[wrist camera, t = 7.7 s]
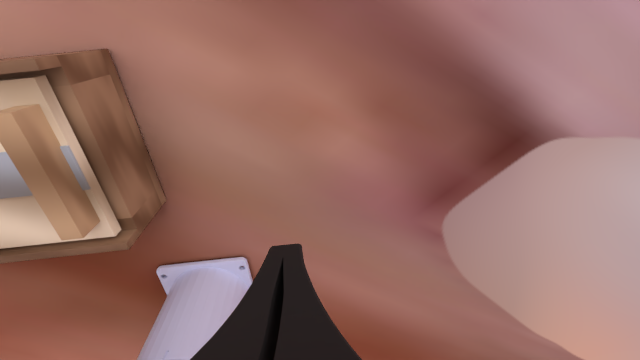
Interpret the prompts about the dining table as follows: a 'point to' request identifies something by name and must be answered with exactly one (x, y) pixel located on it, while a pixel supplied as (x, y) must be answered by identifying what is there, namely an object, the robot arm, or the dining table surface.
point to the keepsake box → (96, 146)
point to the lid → (45, 172)
